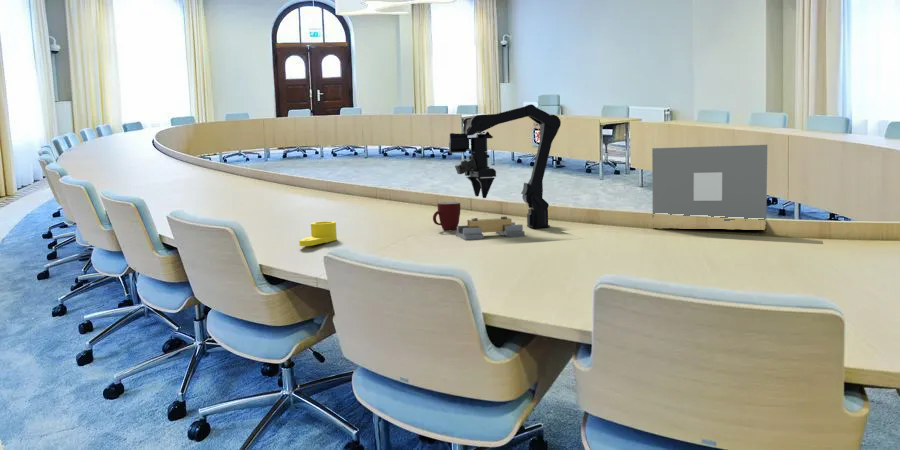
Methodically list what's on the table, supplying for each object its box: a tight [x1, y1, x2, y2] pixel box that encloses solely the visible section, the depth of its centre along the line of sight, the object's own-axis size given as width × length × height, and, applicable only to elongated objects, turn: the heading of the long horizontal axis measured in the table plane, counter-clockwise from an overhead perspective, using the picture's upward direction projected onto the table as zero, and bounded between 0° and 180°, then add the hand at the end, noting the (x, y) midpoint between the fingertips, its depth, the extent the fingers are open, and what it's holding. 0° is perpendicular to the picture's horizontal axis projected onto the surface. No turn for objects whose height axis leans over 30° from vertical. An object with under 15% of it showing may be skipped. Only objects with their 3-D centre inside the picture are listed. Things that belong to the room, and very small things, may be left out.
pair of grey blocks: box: [455, 221, 526, 241], centre depth 229 cm, size 20×12×4 cm, turn 104°
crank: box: [298, 220, 337, 247], centre depth 231 cm, size 18×8×6 cm, turn 161°
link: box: [466, 215, 513, 234], centre depth 229 cm, size 14×4×5 cm, turn 100°
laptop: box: [651, 144, 768, 221], centre depth 236 cm, size 35×26×27 cm
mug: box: [432, 201, 461, 231], centre depth 244 cm, size 10×8×10 cm
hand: (480, 197), depth 240 cm, fingers open, 9 cm apart
